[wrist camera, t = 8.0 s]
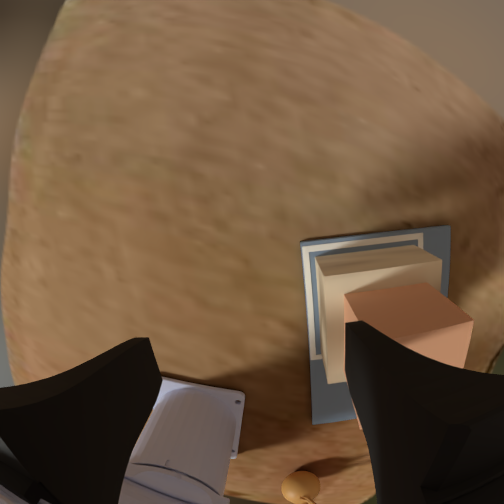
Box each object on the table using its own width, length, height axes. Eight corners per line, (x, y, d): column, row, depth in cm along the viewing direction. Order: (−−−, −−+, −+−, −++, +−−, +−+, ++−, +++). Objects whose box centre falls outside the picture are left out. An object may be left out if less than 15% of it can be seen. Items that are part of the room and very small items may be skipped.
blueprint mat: (426, 398, 21) (428, 401, 21) (312, 421, 22) (312, 425, 22) (447, 224, 18) (451, 226, 17) (300, 241, 19) (300, 243, 18)
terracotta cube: (418, 356, 16) (451, 406, 11) (343, 370, 16) (360, 429, 11) (427, 282, 14) (474, 320, 10) (343, 294, 15) (369, 342, 10)
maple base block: (409, 335, 19) (430, 363, 16) (320, 350, 20) (328, 384, 16) (413, 244, 18) (442, 260, 14) (314, 256, 19) (323, 276, 15)
